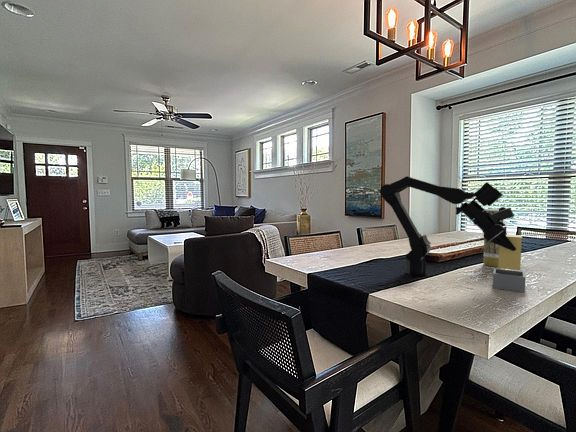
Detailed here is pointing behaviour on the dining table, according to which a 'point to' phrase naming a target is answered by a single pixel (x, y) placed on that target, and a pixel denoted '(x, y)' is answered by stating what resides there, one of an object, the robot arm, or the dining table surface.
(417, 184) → the robot arm
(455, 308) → the dining table surface
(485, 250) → the bark textured cylinder
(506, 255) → the ochre block
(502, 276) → the sleeve
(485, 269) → the dining table surface
